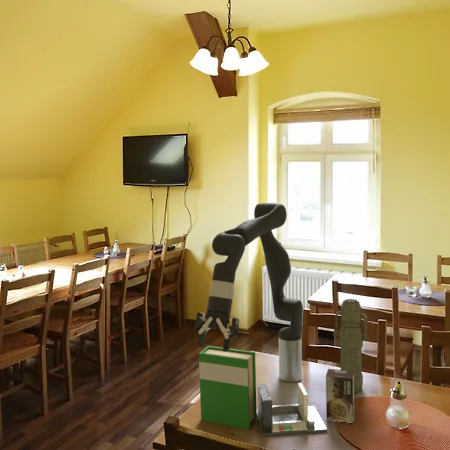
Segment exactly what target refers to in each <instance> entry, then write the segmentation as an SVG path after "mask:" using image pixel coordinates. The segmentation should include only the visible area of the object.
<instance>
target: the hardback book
mask: <svg viewBox="0 0 450 450" xmlns="http://www.w3.org/2000/svg"><path fill="white" fill-rule="evenodd" d="M198 363H199V364H198V365H199V367H198V369H199V370H198V371H199V396H200V421H203V422H204V421H205V422H209V423H213V424H218V425H224V426H227V427H234V428H239V429H243V430H250V429H251V423H252V422H253V421H257V420H258V417H257V413H256V409H257V377H256V375H257V373H256V367H257V366H256V351H253V350H251V351H250V350H245V349H244V350H243V349H238V348H237V349H235V348H230V349H229V350H228V352H224V351H223V346H222V347H221V346H213V345H207V346H206V347H205V348H204V349H202V350H201V351H199V353H198Z"/></svg>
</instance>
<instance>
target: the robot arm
mask: <svg viewBox="0 0 450 450" xmlns="http://www.w3.org/2000/svg"><path fill="white" fill-rule="evenodd" d="M253 215H254V216H253V217H254V218H251V219H248V220H246V221H243V222H242V223H240V224H239V225H237V226H236V227H234V228H230V229H227V230H224V231H222V232H219V233H218V234H216V236H215V237H214V238H213V240H212V243H211V249H212V251H213V252H214V254H216V255H217V256H221V257H224V256H225V257H226V259H224V261H221V262H217V263H215V265H214V266H213V272H212V277H211V278H212V279H211V282H210V283H211V284H210V288H209V292H208V299H207V300H208V301H207V306H206V313H204V312H197V313H196V317H195V322H194V326H193V331H194V332H197V333H198V339H197V345H198V347H199V348H204V347H205V341H206V334H207V332H208V331H209V330H211V329H212V330H213V329H214V330H218V331H221V333H222V334H223V336H224V340H223V345H222V348H223V351H224V352H228V350H229V349H231V344H232V343H231V342H232V339H237V338H238V336H239V325H240V319H239V318H238V317H231V313H232V306H233V299H234V298H233V297H234V292H235V280H236V273H237V271H238V267H239V265H240V263H241V259H242V258H243V255H244V252H245V249H246V246H248V245H249V244H251V243H252V242H253V241H255V240H256V239H257V238H260V242H261V246H262V251H263V255H264V259H265V265H266V270H267V274H268V279H269V284H270V288H271V297H272V306H273V312H274V316H275V318H276V319H277V320H279V321H280V320H281V321H284V322H289V324H290V325H289V326H286V327H282V328H280V329H279V331H278V374H279V375H278V378H279V379H280V380H281V381H283V382H285V383H296V382H297V383H299V382H300V381H301V380H302V378H303V370H302V369H303V367H302V365H303V362H302V360H303V355H302V353H303V351H302V345H303V344H302V332H303V321H304V320H303V316H304V306H303V303H302V302H303V301H301V300H300V299H298V298H297V299H296V298H290V297H286V296H285V293H284V288H285V285H286V284H287V281H288V279H289V278H290V276H291V272H292V267H291V262H290V261H291V260H290V256H289V253H288V252H287V250H286V249H285V248H284V246H283V245H282V244H281V243H280V241H278V240H277V238H276V237H275V235H274V233H273V230H276V229H278V228H281V227H283V226H284V225H285V223H286V220H287V215H288V214H287V208H286V207H285V205H284V204H283V203H280V202H260V203H257V204H256V205H255V207H254V211H253ZM204 320H205V321H206V322H205V323H203V321H204ZM229 323H230V325H231V328H230V327H229V326H228V325H229Z"/></svg>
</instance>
